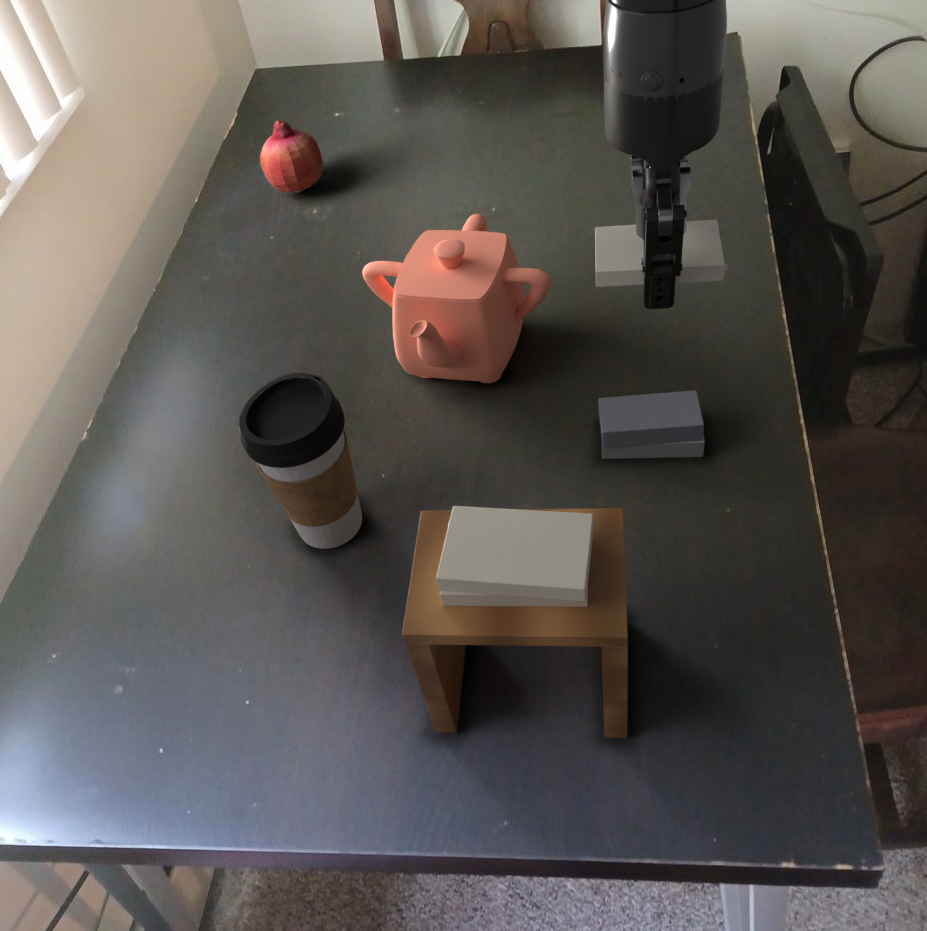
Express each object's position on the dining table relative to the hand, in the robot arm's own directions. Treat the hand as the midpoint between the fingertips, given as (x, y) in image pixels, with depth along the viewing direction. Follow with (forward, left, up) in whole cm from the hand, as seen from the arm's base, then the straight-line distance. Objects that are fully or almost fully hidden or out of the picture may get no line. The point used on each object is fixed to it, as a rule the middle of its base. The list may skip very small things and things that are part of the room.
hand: (656, 278), depth 70 cm
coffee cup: (+9, +29, -19) cm, 36 cm away
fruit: (+64, +9, -19) cm, 67 cm away
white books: (-14, +22, -4) cm, 26 cm away
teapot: (+21, +8, -19) cm, 29 cm away
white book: (0, 0, +2) cm, 2 cm away
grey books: (0, 0, -18) cm, 18 cm away
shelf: (-14, +22, -18) cm, 32 cm away
